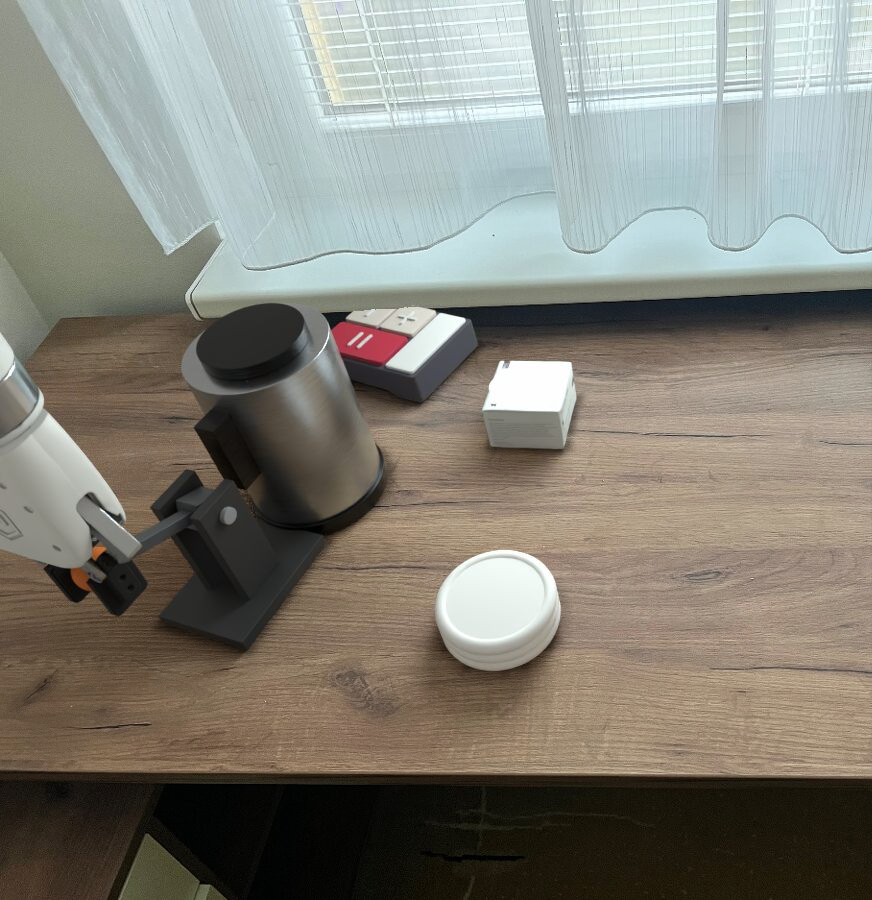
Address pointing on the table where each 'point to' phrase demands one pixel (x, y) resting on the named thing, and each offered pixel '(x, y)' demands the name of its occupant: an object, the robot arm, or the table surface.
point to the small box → (530, 404)
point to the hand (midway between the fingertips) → (109, 592)
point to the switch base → (232, 564)
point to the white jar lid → (498, 610)
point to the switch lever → (157, 530)
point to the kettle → (285, 417)
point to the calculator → (403, 348)
